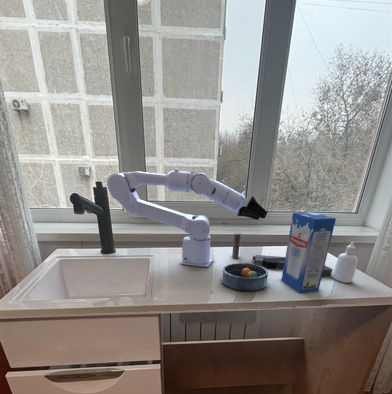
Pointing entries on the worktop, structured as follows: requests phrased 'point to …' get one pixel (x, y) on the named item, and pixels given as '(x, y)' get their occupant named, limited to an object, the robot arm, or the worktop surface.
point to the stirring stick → (236, 245)
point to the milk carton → (307, 250)
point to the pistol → (280, 263)
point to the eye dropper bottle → (346, 265)
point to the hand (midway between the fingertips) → (262, 216)
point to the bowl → (238, 282)
